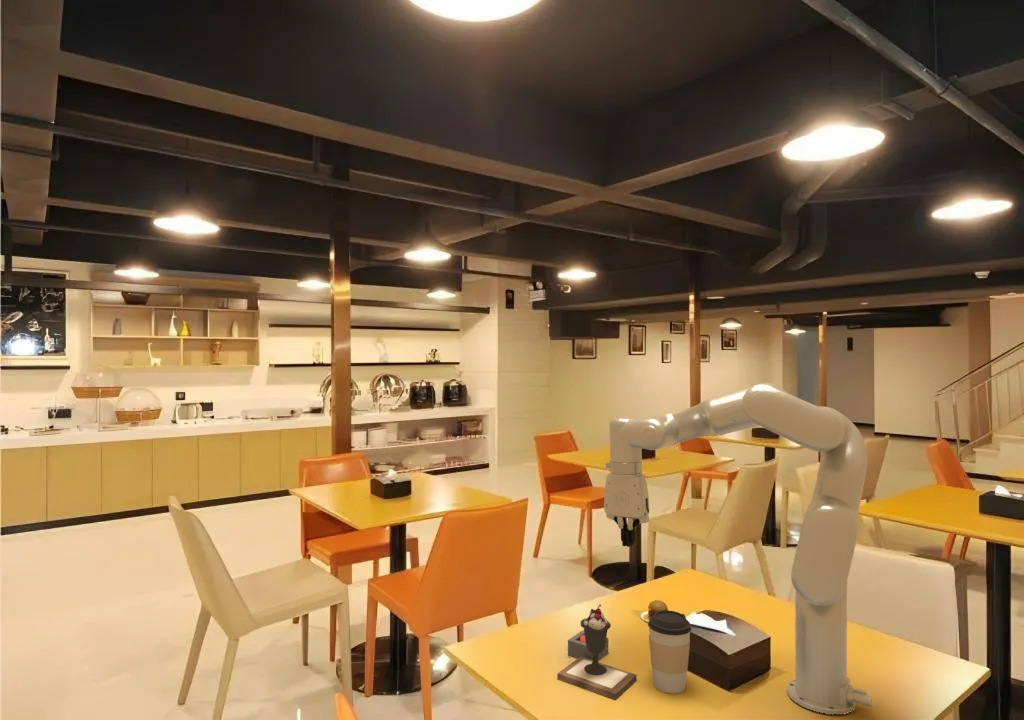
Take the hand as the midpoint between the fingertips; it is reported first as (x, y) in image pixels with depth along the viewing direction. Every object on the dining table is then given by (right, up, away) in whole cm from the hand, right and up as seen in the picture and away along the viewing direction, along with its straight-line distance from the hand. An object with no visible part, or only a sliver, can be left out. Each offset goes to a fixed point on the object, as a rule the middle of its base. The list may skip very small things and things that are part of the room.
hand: (628, 545), depth 147 cm
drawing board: (-9, -25, -14) cm, 30 cm away
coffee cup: (+6, -25, -16) cm, 31 cm away
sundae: (-10, -24, -13) cm, 29 cm away
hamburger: (+12, -27, +19) cm, 35 cm away
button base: (-10, -25, -2) cm, 27 cm away
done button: (-10, -24, -2) cm, 26 cm away
